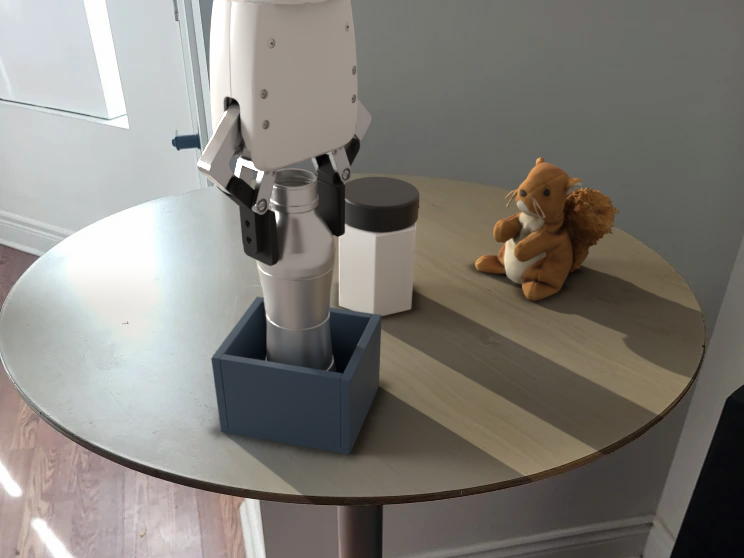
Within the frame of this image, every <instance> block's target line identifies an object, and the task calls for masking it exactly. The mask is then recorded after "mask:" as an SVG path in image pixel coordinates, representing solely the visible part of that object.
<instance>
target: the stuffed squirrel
mask: <svg viewBox="0 0 744 558" xmlns="http://www.w3.org/2000/svg"><path fill="white" fill-rule="evenodd" d="M582 185H583V179H582V178H579V177H571V176H570V175H569V173H567V172H566V171H565V170H564V169H562V168H560V167H559V166H557V165H555V164H552V163H550V162H546V161H545V158H543V157H538V158H537V159H536V161H535V166H533V167H532V168H531V170H530V171H529V172H528V175H527V177H526V179H525V180H524V181H522V182H521V183H520V184H519V186H518V188H516V189H513V190H511V191H510V192H508V194H507V195H506V196H505V197H504V200H507V199H508V198H509V197H510V195H511V197H510V199H509V200H508V203H507V204H506V207H507V208H509V207H510V204H511V202H512V201H513V200H515V201H514V203H515V204H516V206H517V208H518V210H519V211H518V212H516V213H514V214H512V215H510V216H507V217H505V218H502V219H499V220H498V221H497V222H496V223H495V225H494V227H493V235H492V236H493V238H494V240H495V241H496V242H497V243H500V244H501V243H502V244H503V243H504V244H503V245H502V247H501V248H500V249H499V251H498V253H497V255H496V254H485V255H482V256H480V257H478V258H477V259H476V260H475V262H474V266H475V269H476V270H477V271H478V272H481V273H487V274H493V275H506V277H507V278H508V279H509V280H510V281H512V282H513V283H515V284H519V285H521V288H522V292H523V294H524V296H525V298H526V300H528V301H531V302H535V301H536V302H537V301H540V300H543V299H546V298H548V297H551V296H552V295H554V294H556V293H558V292H560V290H561V289H562V287H563V285H564V283H565V281H566V279H567V277H568V276H569V273H573V272H574V271H575V270H578V269H580V268H581V266H582V263H583V262H584V261H585V260H586V259H587V258H588V256H589V254H590V250H589V249H590V248H591V247H594V246H597V245H598V242H599V241H600V239H603V238H604V236H605V235H608V234H611V235H613V234H614V232H613V229H612V228H614V227H616V226H615V224H614V223H615V218H616V215H617V214H620V213H621V212H620V211H621V210H620V209H617V207H616V206H614V204H613V203H612V202H613V201H612V200H611V197H609V196H608V195H606V194H604V193H603V192H601V191H600V190H598V189H593V188H589V187H587V186H586V187H585V188H584V187H581V186H582ZM580 187H581V188H580ZM512 193H513V194H512Z"/></svg>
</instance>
